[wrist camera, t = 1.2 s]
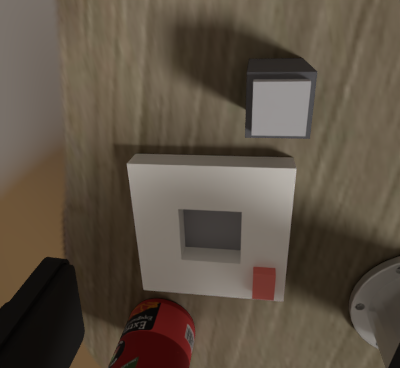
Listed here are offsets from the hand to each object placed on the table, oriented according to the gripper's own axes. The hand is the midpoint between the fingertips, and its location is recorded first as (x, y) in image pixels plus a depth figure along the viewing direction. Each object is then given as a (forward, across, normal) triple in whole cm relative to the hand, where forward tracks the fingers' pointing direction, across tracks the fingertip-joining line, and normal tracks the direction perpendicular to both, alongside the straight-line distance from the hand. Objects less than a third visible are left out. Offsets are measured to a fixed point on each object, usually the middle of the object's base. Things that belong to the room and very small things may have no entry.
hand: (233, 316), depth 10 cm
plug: (+21, -2, -2) cm, 21 cm away
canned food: (+21, +7, +26) cm, 34 cm away
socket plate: (+21, +2, +11) cm, 24 cm away
